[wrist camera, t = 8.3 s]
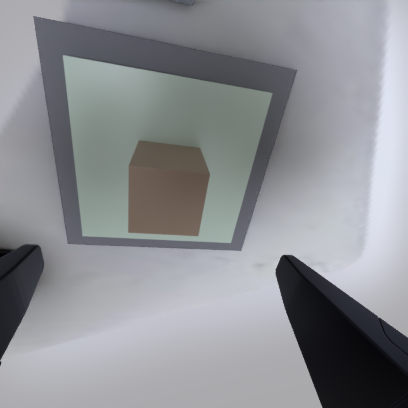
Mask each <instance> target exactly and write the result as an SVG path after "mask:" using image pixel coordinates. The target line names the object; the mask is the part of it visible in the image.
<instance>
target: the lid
mask: <svg viewBox="0 0 408 408" xmlns="http://www.w3.org/2000/svg"><path fill="white" fill-rule="evenodd" d="M63 62H64V71H65V80H66V89H67V98H68V107H69V116H70V126H71V135H72V144H73V153H74V162H75V171H76V180H77V190H78V199H79V208H80V217H81V226H82V235H83V236H89V237H111V238H132V239H154V240H175V241H197V242H218V243H231V241H232V237H233V234H234V230H235V227H236V223H237V219H238V216H239V212H240V209H241V205H242V201H243V198H244V194H245V191H246V187H247V184H248V180H249V176H250V173H251V169H252V166H253V162H254V158H255V155H256V151H257V148H258V144H259V140H260V137H261V133H262V130H263V126H264V122H265V119H266V115H267V112H268V108H269V104H270V101H271V97H272V94H273V93H270V92H265V91H259V90H254V89H248V88H243V87H237V86H232V85H226V84H221V83H215V82H210V81H204V80H199V79H193V78H188V77H182V76H177V75H171V74H166V73H160V72H155V71H149V70H144V69H138V68H133V67H127V66H122V65H116V64H111V63H106V62H100V61H95V60H89V59H84V58H78V57H73V56H66V55H63Z"/></svg>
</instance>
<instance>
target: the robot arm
mask: <svg viewBox="0 0 408 408" xmlns="http://www.w3.org/2000/svg"><path fill="white" fill-rule="evenodd" d="M43 268H44V261H43V256H42V252H41V248H40V246H39V245H32V244H25V245H23V246H21V247H19V248H17V249H15V250H14V251H11V250H0V360H1V358H2V356H3V354H4V353H5V351H6V349H7V347H8V345H9V343H10V341H11V339H12V338H13V336H14V334H15V332H16V330H17V328H18V326H19V324H20V323H21V321H22V319H23V317H24V315H25V313H26V311H27V308H28V306H29V304H30V301H31V299H32V296H33V294H34V291H35V289H36V286H37V284H38V281H39V278H40V276H41V273H42V271H43ZM276 277H277V281H278V285H279V288H280V292H281V296H282V300H283V303H284V306H285V310H286V313H287V315H288V318H289V321H290V323H291V326H292V329H293V331H294V334H295V337H296V339H297V342H298V345H299V347H300V350H301V352H302V355H303V358H304V360H305V363H306V366H307V368H308V371H309V373H310V376H311V379H312V381H313V384H314V387H315V389H316V392H317V394H318V397H319V400H320V402H321V405H322V407H323V408H408V338H407V337H406V336H405V335H403V334H402V333H400V332H399V331H398V330H396V329H394V328H393V327H392V326H390V325H389V324H387V323H386V322H385V321H384V320H382V319H381V318H378V316H377V315H375V314H374V313H372V312H371V311H370V310H368V309H366V308H365V307H364V306H363V305H361V304H360V303H358V302H357V301H356V300H354V299H353V298H351V297H350V296H349V295H347V294H346V293H345V292H343V291H342V290H340V289H339V288H337V287H336V286H335V285H333V284H332V283H331V282H329V281H328V280H326V279H325V278H324V277H322V276H321V275H320V274H318V273H317V272H315V271H314V270H313V269H311V268H310V267H308V266H307V265H306V264H304V263H303V262H301V261H300V260H299V259H297V258H296V257H294V256H293V255H283V256H281V258H280V261H279V263H278V265H277V268H276ZM0 365H1V361H0Z"/></svg>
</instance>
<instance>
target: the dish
mask: <svg viewBox="0 0 408 408" xmlns="http://www.w3.org/2000/svg"><path fill="white" fill-rule="evenodd" d="M171 1H175V2H179V3H183V4H188V5H192V4H193V2H194V0H171Z"/></svg>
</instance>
